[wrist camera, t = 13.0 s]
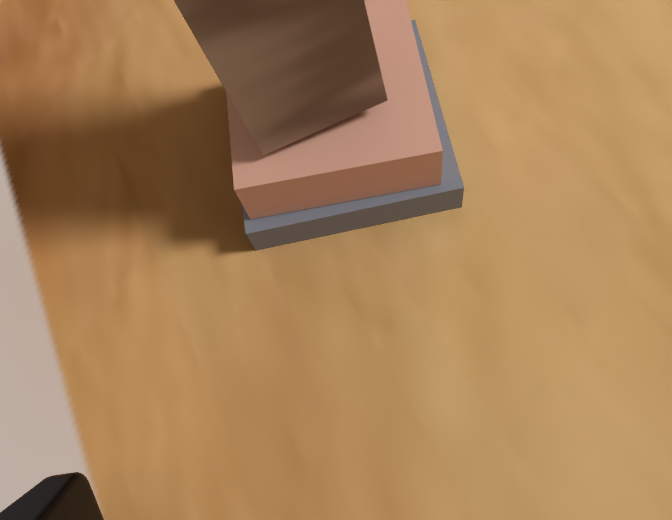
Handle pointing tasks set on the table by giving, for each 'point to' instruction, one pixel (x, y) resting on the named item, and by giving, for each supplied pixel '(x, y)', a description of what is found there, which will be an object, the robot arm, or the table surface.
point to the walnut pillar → (289, 62)
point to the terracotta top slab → (350, 138)
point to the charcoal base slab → (368, 209)
